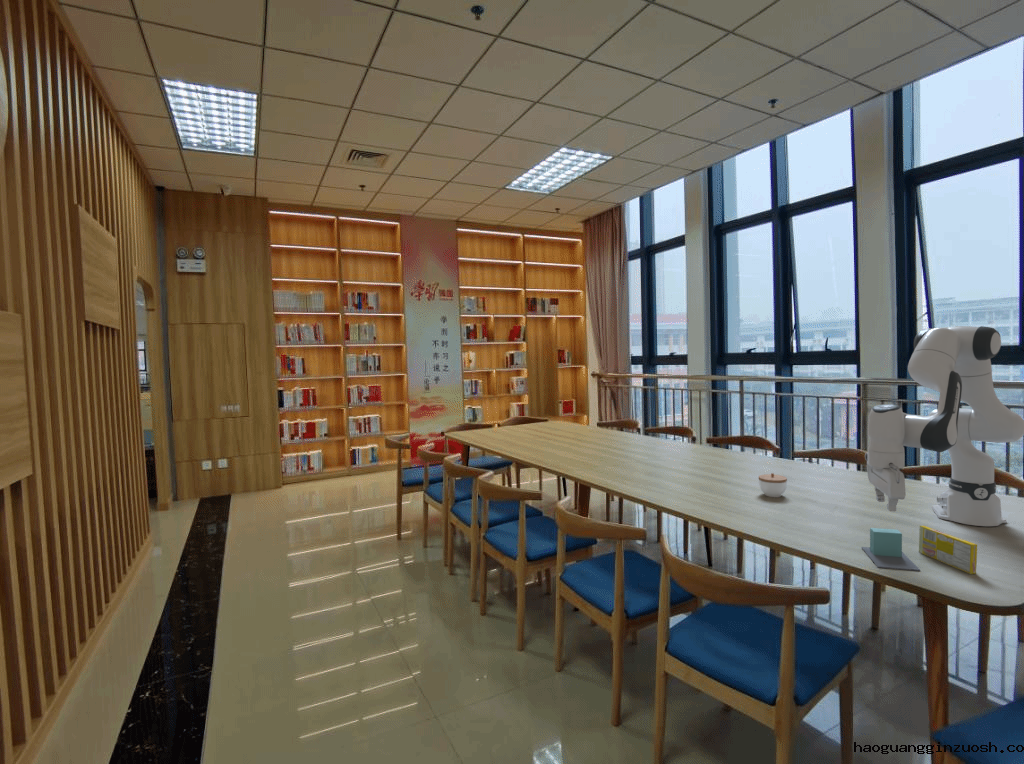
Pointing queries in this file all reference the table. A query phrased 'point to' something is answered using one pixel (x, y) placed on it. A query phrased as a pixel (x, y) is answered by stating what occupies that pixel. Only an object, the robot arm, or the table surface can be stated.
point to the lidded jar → (772, 484)
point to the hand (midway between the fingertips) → (885, 505)
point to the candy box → (948, 549)
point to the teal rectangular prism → (886, 542)
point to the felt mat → (891, 561)
